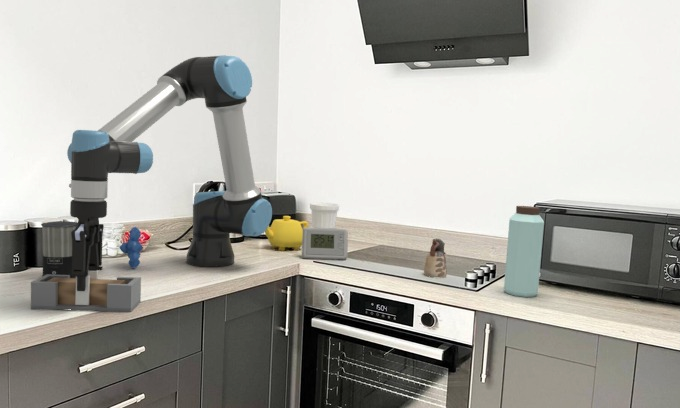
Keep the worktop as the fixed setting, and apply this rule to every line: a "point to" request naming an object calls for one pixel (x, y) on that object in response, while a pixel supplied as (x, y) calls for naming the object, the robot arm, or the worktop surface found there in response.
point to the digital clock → (325, 243)
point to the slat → (95, 293)
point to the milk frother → (57, 247)
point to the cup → (324, 215)
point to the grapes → (133, 247)
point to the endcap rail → (117, 301)
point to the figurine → (436, 260)
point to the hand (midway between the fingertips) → (86, 301)
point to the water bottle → (524, 252)
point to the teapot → (286, 233)
